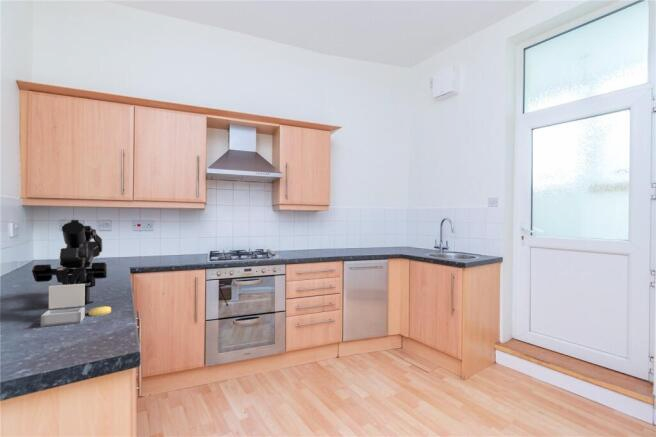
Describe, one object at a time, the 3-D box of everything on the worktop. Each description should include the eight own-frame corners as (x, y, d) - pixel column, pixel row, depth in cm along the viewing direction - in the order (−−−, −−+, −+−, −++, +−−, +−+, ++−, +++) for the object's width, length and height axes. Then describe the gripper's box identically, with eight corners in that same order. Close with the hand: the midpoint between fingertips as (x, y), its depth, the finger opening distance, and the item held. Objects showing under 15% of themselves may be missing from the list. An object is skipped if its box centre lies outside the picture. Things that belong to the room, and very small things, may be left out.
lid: (48, 308, 98) (49, 308, 99) (84, 305, 102) (84, 305, 103) (48, 286, 98) (49, 285, 99) (84, 284, 102) (84, 283, 103)
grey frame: (47, 320, 98) (47, 309, 98) (84, 316, 103) (84, 306, 103) (40, 327, 92) (41, 315, 92) (80, 322, 96) (80, 311, 96)
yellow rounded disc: (98, 310, 110) (98, 306, 110) (115, 311, 109) (115, 306, 109) (83, 316, 104) (83, 311, 104) (101, 316, 103) (101, 311, 103)
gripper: (34, 238, 101) (21, 280, 92) (107, 238, 110) (102, 276, 101) (41, 261, 108) (29, 302, 98) (109, 259, 117) (104, 296, 107)
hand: (67, 293), depth 101 cm, fingers closed, pressing on lid
